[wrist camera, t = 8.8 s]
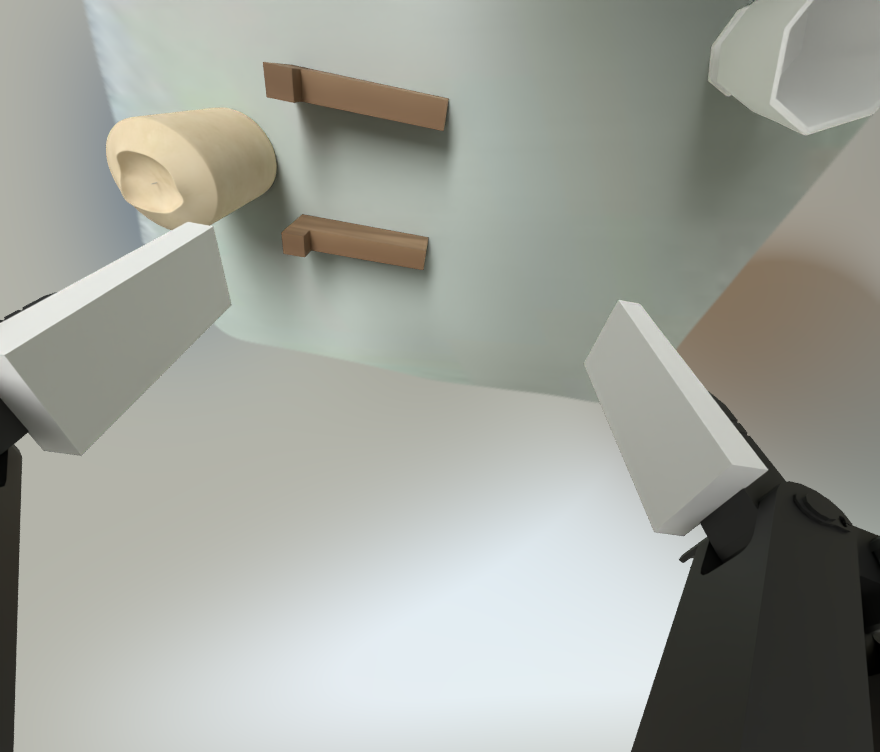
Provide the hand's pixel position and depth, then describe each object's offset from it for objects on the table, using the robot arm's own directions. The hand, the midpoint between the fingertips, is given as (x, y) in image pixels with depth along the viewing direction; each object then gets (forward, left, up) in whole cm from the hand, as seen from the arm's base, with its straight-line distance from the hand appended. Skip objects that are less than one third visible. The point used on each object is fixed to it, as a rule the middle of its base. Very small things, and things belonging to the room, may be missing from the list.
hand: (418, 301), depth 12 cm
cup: (-12, +17, -19) cm, 28 cm away
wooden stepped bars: (0, -5, -19) cm, 19 cm away
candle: (+1, -14, -19) cm, 24 cm away
